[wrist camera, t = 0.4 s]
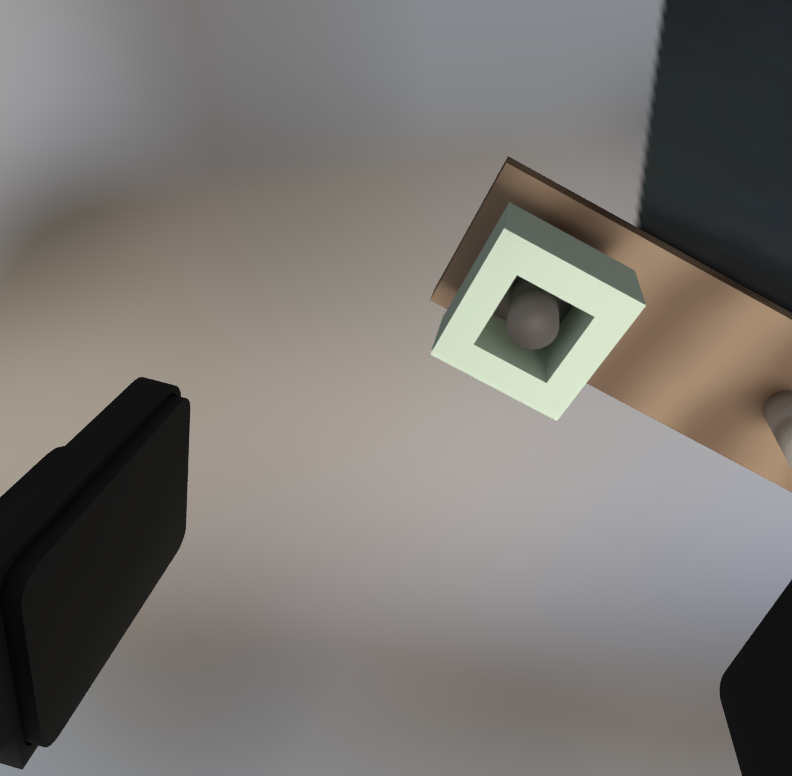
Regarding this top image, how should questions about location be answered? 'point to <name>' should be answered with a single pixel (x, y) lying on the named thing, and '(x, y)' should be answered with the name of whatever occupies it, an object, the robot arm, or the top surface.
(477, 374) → the collar
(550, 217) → the board
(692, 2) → the top surface
